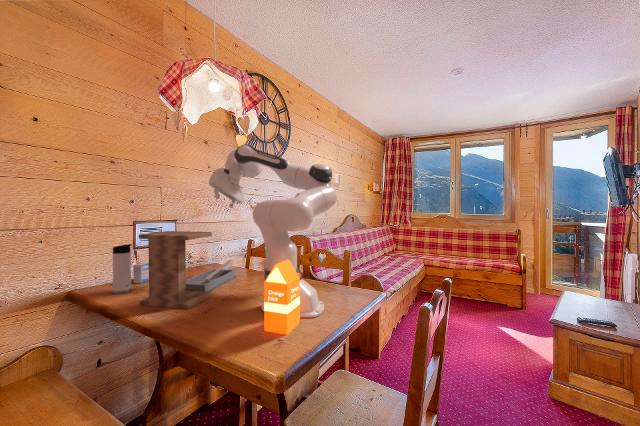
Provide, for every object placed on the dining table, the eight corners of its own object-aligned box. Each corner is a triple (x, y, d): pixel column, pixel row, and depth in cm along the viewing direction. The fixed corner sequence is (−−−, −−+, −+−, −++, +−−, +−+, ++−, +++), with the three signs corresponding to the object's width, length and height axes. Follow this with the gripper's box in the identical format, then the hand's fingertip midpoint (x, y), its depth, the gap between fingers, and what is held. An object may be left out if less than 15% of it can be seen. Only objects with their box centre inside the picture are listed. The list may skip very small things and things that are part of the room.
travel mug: (132, 292, 118) (131, 244, 117) (112, 294, 114) (112, 246, 114) (132, 288, 123) (131, 243, 122) (113, 290, 119) (112, 244, 119)
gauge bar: (233, 264, 149) (233, 260, 149) (210, 283, 128) (209, 278, 128) (229, 264, 150) (228, 259, 149) (205, 283, 129) (204, 278, 128)
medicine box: (141, 283, 131) (141, 265, 130) (133, 283, 131) (133, 264, 131) (154, 279, 138) (154, 261, 138) (146, 278, 139) (146, 261, 139)
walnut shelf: (212, 295, 114) (211, 232, 113) (188, 308, 99) (188, 235, 98) (168, 292, 117) (167, 231, 116) (139, 305, 102) (138, 234, 102)
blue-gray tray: (235, 277, 143) (235, 270, 143) (205, 294, 115) (205, 285, 115) (213, 276, 145) (213, 268, 145) (177, 292, 118) (177, 283, 117)
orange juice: (300, 322, 88) (300, 259, 87) (287, 335, 80) (287, 265, 79) (278, 319, 90) (278, 258, 90) (263, 330, 82) (263, 263, 82)
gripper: (239, 190, 148) (234, 213, 142) (210, 168, 132) (202, 193, 126) (249, 188, 145) (243, 211, 139) (220, 165, 130) (212, 191, 123)
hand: (223, 202), depth 132 cm, fingers open, 8 cm apart
